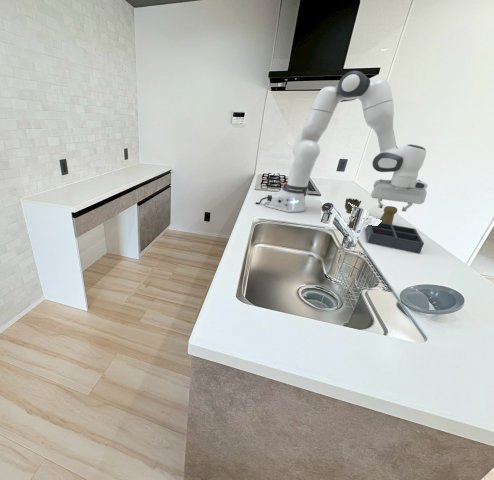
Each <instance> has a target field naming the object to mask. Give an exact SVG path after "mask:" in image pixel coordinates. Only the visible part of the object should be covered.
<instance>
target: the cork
mask: <svg viewBox="0 0 494 480" xmlns="http://www.w3.org/2000/svg"><path fill="white" fill-rule="evenodd" d="M397 213H398V208H397V207H396V206H393V205H387V206H385V207H384V208H383V214H382V215H381V217H380V218H379V220H382V222H381V223H385V224H391V225H393V222H394V218H395V215H396V214H397Z"/></svg>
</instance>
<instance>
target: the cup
mask: <svg viewBox="0 0 494 480" xmlns="http://www.w3.org/2000/svg"><path fill="white" fill-rule="evenodd" d="M348 202H350V203H351V204H353V205H355V206H357V207H358V208H359V207H360V205H361V204H362V200H359V199H357V198H352V197H349V198H348V197H347V198H345V203H344V209H345V213H346V214H350V215H352V214H351V211H352V208H353V207H352V206H351V205H350V204H348Z"/></svg>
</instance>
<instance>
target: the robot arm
mask: <svg viewBox="0 0 494 480" xmlns="http://www.w3.org/2000/svg"><path fill="white" fill-rule="evenodd" d="M357 99H358V100H359V101H360V103H361V106H362V112H363V118H364V120H365V123H366V125H367V126H369V127H370V128H371V129H372V130H373V131H374V132H375V135H376V137H377V141H378V147H379V153H378V154H376V155H375V157H374V158H373V160H372V163H371V165H372V168H373V169H374V170H375V171H376V172H379V173H392V172H393V174H392V177H391V179H383V178H379V179H377V180H376V181H374V183H373V189H372V191H371V192H370V197H371V198H372V199H377V202H378V209H383V207H384V204H383V203H382V201H383V200H384V201H392V202H399V203H400V202H401V203H407V205H406V206H402V209H401V212H407V211H408V209H409V208H410V207H412V206H413V204H414V205H423V203H425V201H426V198H427V193H428V192H427V190H426V189H427V188H428V184H427V182H425V181H423V180H420V179H418V176H419V172H420V170H421V169H422V167H423V164H424V161H425V159H426V155H427V149H426V148H425V147H423V146H421V145H418V144H410V143H409V144H406V145H404V146H400V147H398V146H397V142H396V137H395V132H394V131H395V130H394V112H395V108H394V98H393V93H392V90H391V87H390V85H389V82H388V80H386V79H384V78H379V79H378V78H377V79H374V80H371V79H370V78H369V77H368V76H366V74H364V73H363V72H361V71H359V70H351V71H348V72H346V73H345V74H344V75H343V76H342V77H340V79H339V80H338V83H337V85H336V86H335V85H334V86H332V85H329V86H328V85H327V86H324V87H323V88H321V89H320V91H319V92H318V93H317V96H316V97H315V99H314V101H313V103H312V105H311V107H310V109H309V111H308V115H307V117H306V119H305V121H304V124H303V126H302V128H301V130H300V131H299V134H298V136H297V138H296V139H295V142H294V143H293V145H292V148H291V149H292V155H293V156H294V159H293V162H292V165H291V167H290V169H289V173H288V178H287V182H286V181H285V182H284V183H283V184H282V189H280V190H278V191H277V192H273V194H267V196H265V197H262V198H261V199H260V200H259V202H257V201H256V202H255V204H256V205H261V204H262V201H263V200H266V201H265V204H264V206H265V207H267V208H271V209H274V210H279V211H282V212H287V213H299V212H300V213H301V212H304V211H305V209H306V208H305V207H306V203H305V202H306V196H307V194H308V190H309V182H310V178H311V174H312V171H313V169H314V167H315V164H316V161H317V159H318V158H319V156H320V154H321V149H320V148H321V147H320V145H319V143H318V142H319V140H320V139H321V137H322V136H323V134H324V133H325V132H326V130H327V129H328V126H329V124H330V121H331V120H332V117H333V115H334V113H335V111H336V108H337V106H338V104H340V103H343V102H344V103H345V102H351V101H355V100H357Z"/></svg>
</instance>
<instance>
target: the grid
mask: <svg viewBox="0 0 494 480" xmlns="http://www.w3.org/2000/svg"><path fill="white" fill-rule="evenodd" d="M365 235H366V240H367V241H366V242H367V243H369V244H374V245H378V246H383V247H388V248H392V249H396V250H402V251H406V252H411V253H416V254H420V252H421V251H422V249H423V247H424V245H425V242H424V241H423V239H422V237H421V236H420V234H419V232H418V231H417V229H416V228H414V227H413V228H412V227H408V226H403V225H402V226H401V225H396V224H392V225H391V224H385V223H380V224H379V225H378V226H372V225H368V226H367V225H366V226H365Z"/></svg>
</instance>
